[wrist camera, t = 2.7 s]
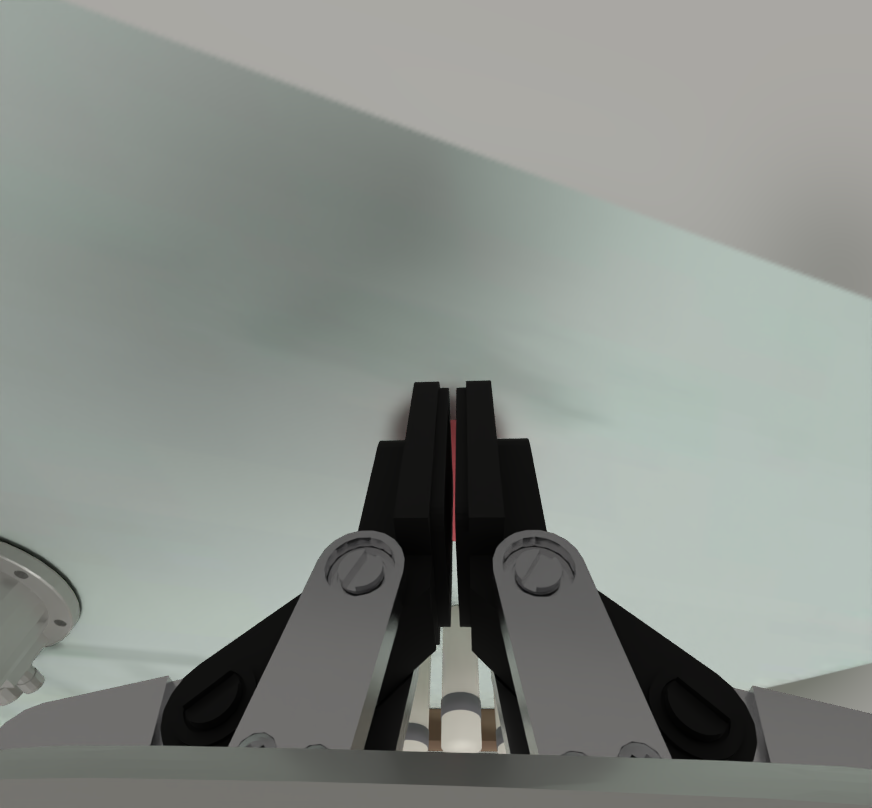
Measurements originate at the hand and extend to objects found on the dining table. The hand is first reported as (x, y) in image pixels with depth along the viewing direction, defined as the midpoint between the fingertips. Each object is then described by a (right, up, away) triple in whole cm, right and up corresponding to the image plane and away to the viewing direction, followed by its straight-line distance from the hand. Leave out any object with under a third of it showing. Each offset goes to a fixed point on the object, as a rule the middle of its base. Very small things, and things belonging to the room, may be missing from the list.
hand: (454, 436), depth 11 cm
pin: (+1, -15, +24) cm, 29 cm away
